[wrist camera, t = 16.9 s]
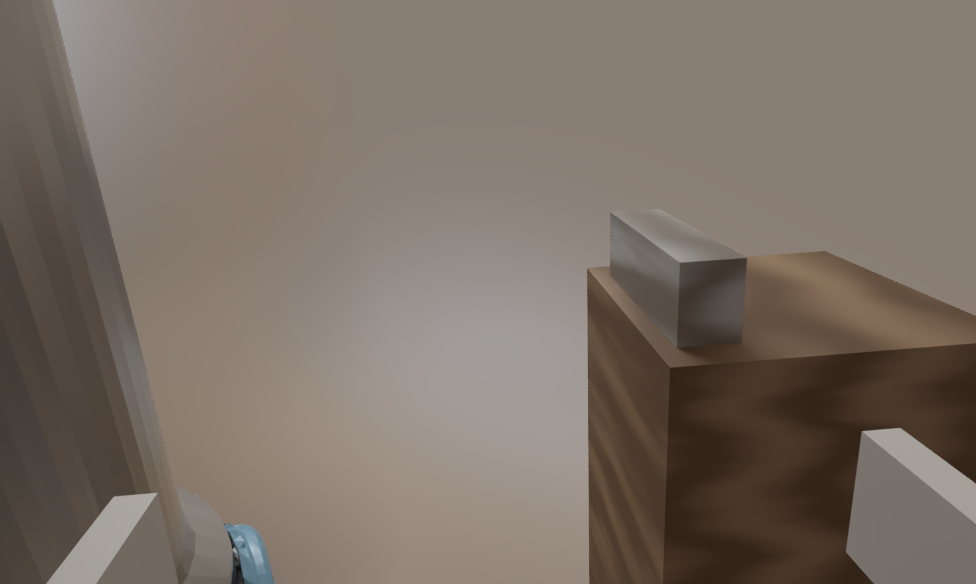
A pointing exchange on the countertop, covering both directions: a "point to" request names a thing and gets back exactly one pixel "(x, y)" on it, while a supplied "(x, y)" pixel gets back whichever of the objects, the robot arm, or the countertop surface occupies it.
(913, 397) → the brown wooden tall block
